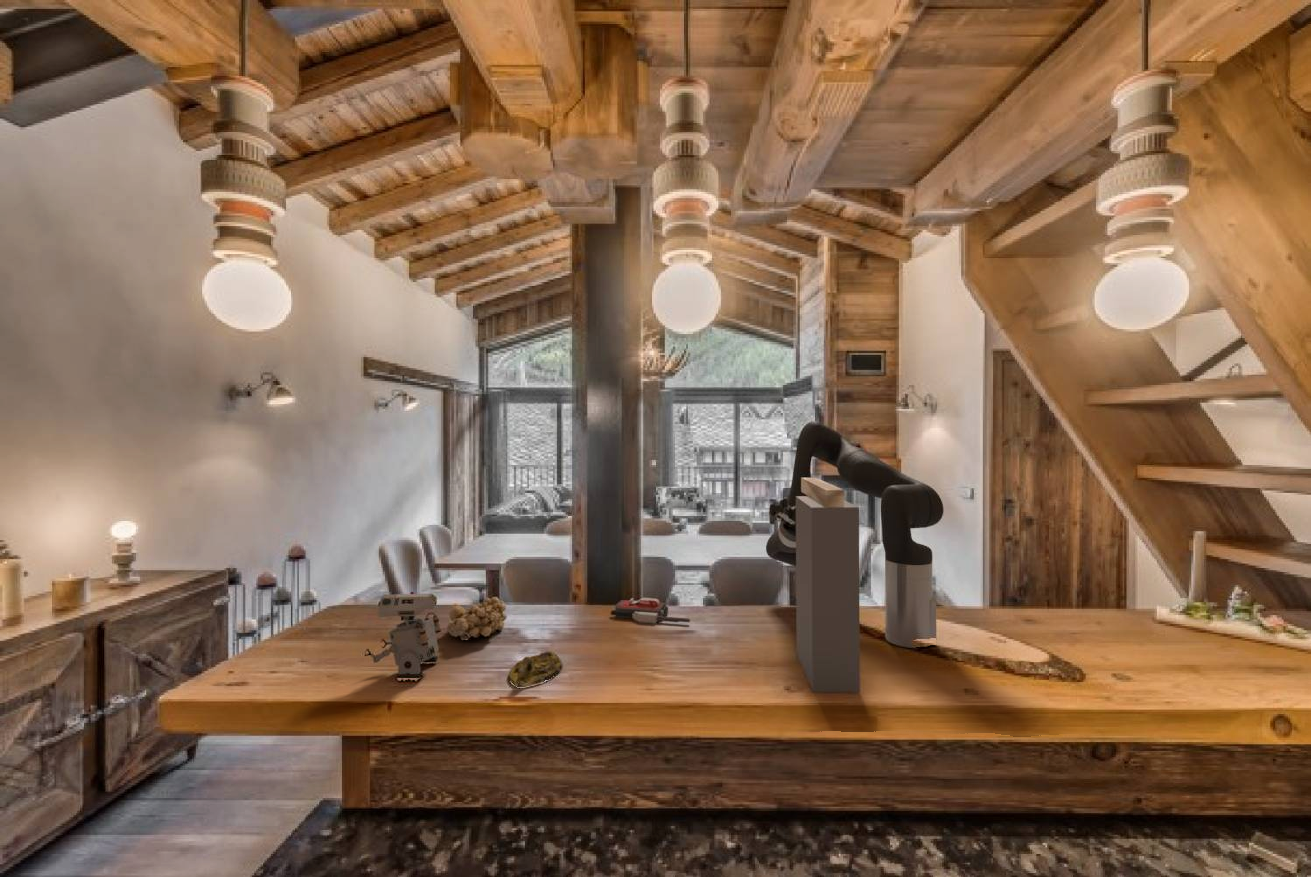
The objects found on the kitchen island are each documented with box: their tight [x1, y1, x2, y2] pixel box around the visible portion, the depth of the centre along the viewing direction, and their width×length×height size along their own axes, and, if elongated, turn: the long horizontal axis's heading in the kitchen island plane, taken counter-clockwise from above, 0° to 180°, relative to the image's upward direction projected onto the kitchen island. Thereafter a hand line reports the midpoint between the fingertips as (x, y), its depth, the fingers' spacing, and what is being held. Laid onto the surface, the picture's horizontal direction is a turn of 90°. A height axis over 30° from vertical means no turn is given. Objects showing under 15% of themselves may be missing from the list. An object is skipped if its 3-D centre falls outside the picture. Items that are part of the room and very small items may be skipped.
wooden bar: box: [801, 477, 845, 508], centre depth 113 cm, size 3×24×3 cm, turn 176°
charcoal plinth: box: [795, 496, 861, 693], centre depth 109 cm, size 8×16×32 cm, turn 176°
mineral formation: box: [444, 596, 508, 641], centre depth 130 cm, size 8×13×15 cm
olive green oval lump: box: [508, 650, 564, 687], centre depth 112 cm, size 9×5×15 cm
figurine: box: [364, 591, 442, 679], centre depth 112 cm, size 9×12×15 cm
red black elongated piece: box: [610, 597, 691, 625], centre depth 143 cm, size 9×4×20 cm
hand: (805, 501), depth 128 cm, fingers open, 8 cm apart
